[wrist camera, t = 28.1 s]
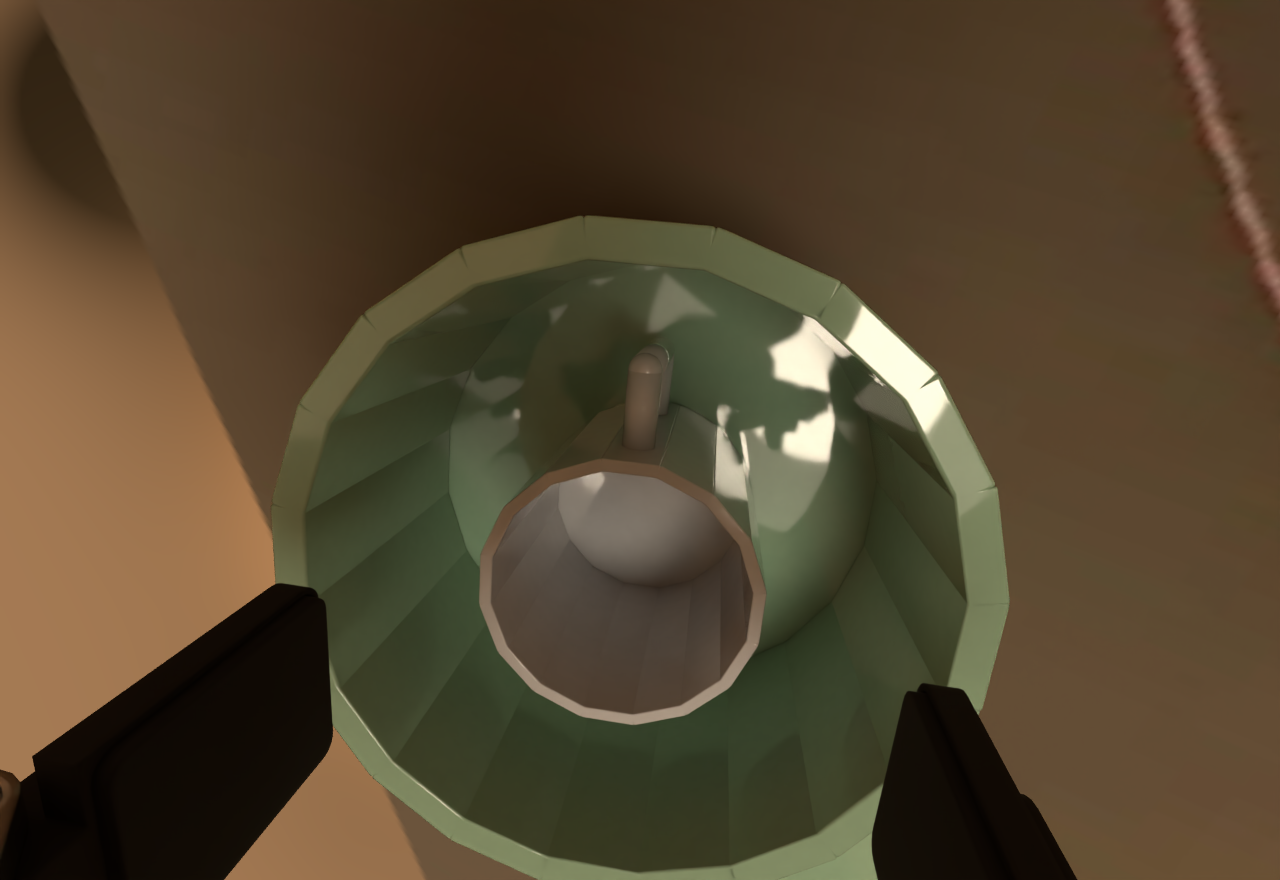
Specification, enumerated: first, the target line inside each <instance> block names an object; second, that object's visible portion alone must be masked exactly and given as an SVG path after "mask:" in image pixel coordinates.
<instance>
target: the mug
mask: <svg viewBox="0 0 1280 880" xmlns="http://www.w3.org/2000/svg"><path fill="white" fill-rule="evenodd" d="M674 353H675V349H674V345H673V343H672V342H671V341H670V340H669V339H668V338H666V337H656V338H654V339H652V340H651V341H650V342H649V343H648V344H647V345H646V346H645V347H644V348H643V349H642V350H641V351H640V352H639V353H638V354H637V355H636V356H634V357H633V358H632V360H631V361H630V363H629V366H628V375H627V387H626V398H625V403H623V404H619V405H616V406H614V407H611V408H608V409H606V410H604V411H601V412H599V413H597V414H596V415H595V416H594V417H592V418H591V419H589V420H588V421H587V422H585V423H584V424H583V425H582V426H581V427H580V428H579V429H578V430H576V431H575V432H574V433H573V434H571V435H570V436H569V437H568V438H567V439H566V440H565V441H564V443H563V444H562V445H561V446H560V447H559V448H558V449H557V450H556V451H555V452H554V453H553V454H552V455H551V457H550V458H549V459H548V460H547V461H546V462H545V463H544V464H543V465H542V466H541V467H540V468H539V469H538V470H537V472H536V473H535V474H534V475H533V476H532V477H531V478H530V479H529V480H528V481H527V482H526V483H525V484H524V486H523V487H522V488H521V489H520V490H519V491H518V492H517V493H516V494H515V495H514V496H513V497H512V498H511V500H510V501H509V502H508V503H507V504H506V505H505V506H504V507H503V509H502V511H501V513H500V515H499V517H498V519H497V521H496V523H495V525H494V527H493V529H492V531H491V533H490V535H489V537H488V539H487V541H486V543H485V545H484V547H483V549H482V551H481V554H480V587H479V604H480V608H481V610H482V613H483V616H484V618H485V621H486V623H487V626H488V628H489V631H490V633H491V636H492V639H493V641H494V644H495V646H496V649H497V651H498V652H499V654H500V655H501V656H502V657H503V658H504V659H505V661H506V662H507V663H508V664H509V665H510V666H511V667H512V668H513V669H514V670H515V672H516V673H517V674H518V675H519V676H520V677H521V678H522V679H523V680H524V681H525V683H526V684H527V685H528V686H529V687H530V688H531V689H532V690H533V691H534V692H536V693H538V694H540V695H541V696H543V697H545V698H547V699H549V700H551V701H553V702H554V703H556V704H558V705H560V706H562V707H564V708H566V709H568V710H569V711H571V712H573V713H575V714H577V715H579V716H582V717H586V718H592V719H599V720H605V721H611V722H617V723H624V724H630V725H637V724H643V723H648V722H653V721H659V720H664V719H669V718H675V717H680V716H685V715H687V714H689V713H690V712H692V711H694V710H695V709H697V708H698V707H700V706H702V705H703V704H705V703H706V702H708V701H710V700H711V699H713V698H714V697H716V696H717V695H719V694H721V693H722V692H724V691H725V690H727V689H729V687H731V685H732V684H733V682H734V681H735V679H736V678H737V676H738V675H739V673H740V672H741V671H742V669H743V668H744V666H745V665H746V663H747V662H748V660H749V659H750V657H751V656H752V654H753V653H754V651H755V650H756V648H757V647H758V644H759V641H760V635H761V628H762V622H763V615H764V609H765V602H766V596H767V593H766V592H767V591H766V584H765V577H764V569H763V562H762V555H761V547H760V540H759V533H758V525H757V518H756V511H755V504H754V496H753V492H752V488H751V485H750V481H749V477H748V472H747V470H746V467H745V464H744V460H743V458H742V456H741V455H740V454H739V452H738V450H737V448H736V447H735V445H734V444H733V443H732V441H731V440H730V438H729V437H728V436H727V435H726V434H725V433H724V432H723V431H722V430H721V429H720V428H719V427H718V426H717V425H715V424H714V423H713V422H712V421H711V420H709V419H707V418H706V417H704V416H703V415H701V414H700V413H698V412H696V411H693V410H691V409H689V408H687V407H684V406H681V405H678V404H674V403H670V402H669V401H670V392H671V382H672V372H673V363H674Z"/></svg>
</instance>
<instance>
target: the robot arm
mask: <svg viewBox="0 0 1280 880" xmlns="http://www.w3.org/2000/svg"><path fill="white" fill-rule="evenodd" d="M332 737H333V723H332V705H331V686H330V668H329V649H328V631H327V612H326V604H325V602H324V600H323V599H321V598H319V597H318V594H317V592H316V590H315V589H313V588H310V587H304V586H297V585H291V584H284V583H277V584H275V585H273V586H271V587H270V588H268V589H267V590H265V591H264V592H263V593H262V594H260V595H258V596H257V597H256V598H254V599H253V600H251V601H250V602H249V603H247V604H246V605H244V606H243V607H242V608H240V609H239V610H238V611H236V612H235V613H233V614H232V615H230V616H229V617H228V618H226V619H225V620H223V621H222V622H221V623H219V624H218V625H216V626H215V627H214V628H212V629H211V630H209V631H208V632H206V633H205V634H204V635H202V636H201V637H199V638H198V639H197V640H195V641H194V642H192V643H191V644H190V645H188V646H187V647H185V648H184V649H183V650H181V651H180V652H178V653H177V654H176V655H174V656H173V657H171V658H170V659H168V660H167V661H166V662H164V663H163V664H162V665H160V666H159V667H157V668H156V669H154V670H153V671H152V672H150V673H149V674H147V675H146V676H145V677H143V678H142V679H141V680H139V681H138V682H136V683H135V684H133V685H132V686H130V687H129V688H128V689H126V690H125V691H123V692H122V693H121V694H119V695H118V696H116V697H115V698H114V699H112V700H111V701H110V702H108V703H107V704H105V705H104V706H103V707H101V708H100V709H98V710H97V711H95V712H94V713H93V714H91V715H90V716H88V717H87V718H86V719H84V720H83V721H81V722H80V723H79V724H77V725H76V726H74V727H73V728H72V729H70V730H69V731H67V732H66V733H65V734H63V735H62V736H60V737H59V738H57V739H56V740H55V741H53V742H52V743H50V744H49V745H48V746H46V747H45V748H43V749H42V750H41V751H39V752H38V753H36V754H35V755H33V756H32V758H33V763H34V767H35V772H34V773H32V774H31V775H30V776H28V777H27V778H26V779H24V780H23V781H21V782H20V781H19V780H18V779H17V778H16V777H15V776H14V775H13V774H12V773H10V772H6V771H3V770H0V880H224V879H225V878H226V877H227V875H228V874H229V873H230V872H231V871H232V869H233V868H234V867H235V866H236V864H237V863H238V862H239V861H240V860H241V858H242V857H243V856H244V855H245V853H246V852H247V851H248V850H249V848H250V847H251V846H252V845H253V844H254V842H255V841H256V840H257V839H258V838H259V836H260V835H261V834H262V833H263V831H264V830H265V829H266V828H267V827H268V825H269V824H270V823H271V822H272V820H273V819H274V818H275V817H276V816H277V814H278V813H279V812H280V811H281V809H282V808H283V807H284V806H285V805H286V803H287V802H288V801H289V800H290V799H291V797H292V796H293V795H294V794H295V792H296V791H297V790H298V789H299V787H300V786H301V785H302V784H303V783H304V781H305V780H306V779H307V778H308V777H309V775H310V774H311V773H312V772H313V770H314V769H315V768H316V767H317V766H318V764H319V763H320V762H321V761H322V759H323V758H324V757H325V755H326V754H327V752H328V750H329V747H330V745H331V742H332ZM872 856H873V862H874V866H875V870H876V875H877V879H878V880H1077V878H1076V877H1075V875H1074V873H1073V871H1072V869H1071V867H1070V866H1069V864H1068V862H1067V860H1066V858H1065V857H1064V855H1063V853H1062V851H1061V849H1060V848H1059V846H1058V844H1057V842H1056V840H1055V839H1054V837H1053V835H1052V833H1051V831H1050V830H1049V828H1048V826H1047V824H1046V822H1045V820H1044V819H1043V817H1042V815H1041V813H1040V811H1039V810H1038V808H1037V807H1036V805H1035V804H1034V803H1033V801H1032V800H1031V799H1030V798H1028V797H1027V796H1025V795H1024V794H1020V793H1019V791H1018V789H1017V787H1016V785H1015V783H1014V781H1013V780H1012V778H1011V776H1010V774H1009V772H1008V770H1007V768H1006V767H1005V765H1004V763H1003V761H1002V759H1001V757H1000V755H999V753H998V752H997V750H996V748H995V746H994V744H993V742H992V740H991V738H990V737H989V735H988V733H987V731H986V729H985V727H984V725H983V724H982V722H981V720H980V718H979V716H978V714H977V712H976V710H975V709H974V707H973V705H972V703H971V701H970V699H969V697H968V696H967V694H966V693H965V691H964V690H962V689H960V688H953V687H947V686H940V685H934V684H928V683H922V684H920V686H919V687H918V689H917V692H914V691H907V692H906V694H905V696H904V699H903V703H902V707H901V711H900V716H899V720H898V724H897V728H896V732H895V737H894V741H893V745H892V749H891V754H890V758H889V762H888V766H887V771H886V775H885V779H884V783H883V788H882V792H881V796H880V800H879V805H878V809H877V813H876V817H875V822H874V826H873V831H872Z"/></svg>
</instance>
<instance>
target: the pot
mask: <svg viewBox="0 0 1280 880" xmlns="http://www.w3.org/2000/svg"><path fill="white" fill-rule="evenodd" d="M656 337H666V338H668V339H669V340H670V341H671V342H672V343H673V345H674V349H675V353H674V363H673V372H672V382H671V392H670V401H669V402H670V403H674V404H678V405H681V406H684V407H687V408H689V409H691V410H693V411H696V412H698V413H700V414H701V415H703V416H704V417H706V418H707V419H709V420H711V421H712V422H713V423H714V424H715V425H717V426H718V427H719V428H720V429H721V430H722V431H723V432H724V433H725V434H726V435H727V436H728V437H729V438H730V440H731V441H732V443H733V444H734V445H735V447H736V448H737V450H738V452H739V454H740V455H741V456H742V458H743V460H744V464H745V467H746V470H747V472H748V477H749V481H750V485H751V488H752V492H753V496H754V504H755V511H756V518H757V525H758V533H759V540H760V547H761V555H762V562H763V569H764V577H765V584H766V591H767V592H766V593H767V596H766V602H765V609H764V615H763V622H762V628H761V635H760V641H759V644H758V647H757V648H756V650H755V651H754V653H753V654H752V656H751V657H750V659H749V660H748V662H747V663H746V665H745V666H744V668H743V669H742V671H741V672H740V673H739V675H738V676H737V678H736V679H735V681H734V682H733V684H732V685H731V687H729V689H727V690H725V691H724V692H722V693H721V694H719V695H717V696H716V697H714V698H713V699H711V700H710V701H708V702H706V703H705V704H703V705H702V706H700V707H698V708H697V709H695V710H694V711H692V712H690V713H689V714H687V715H685V716H680V717H675V718H669V719H664V720H659V721H653V722H648V723H643V724H637V725H630V724H624V723H617V722H611V721H605V720H599V719H592V718H586V717H582V716H579V715H577V714H575V713H573V712H571V711H569V710H568V709H566V708H564V707H562V706H560V705H558V704H556V703H554V702H553V701H551V700H549V699H547V698H545V697H543V696H541V695H540V694H538V693H536V692H534V691H533V690H532V689H531V688H530V687H529V686H528V685H527V684H526V683H525V681H524V680H523V679H522V678H521V677H520V676H519V675H518V674H517V673H516V672H515V670H514V669H513V668H512V667H511V666H510V665H509V664H508V663H507V662H506V661H505V659H504V658H503V657H502V656H501V655H500V654H499V652H498V651H497V649H496V646H495V644H494V641H493V639H492V636H491V633H490V631H489V628H488V626H487V623H486V621H485V618H484V616H483V613H482V610H481V608H480V604H479V587H480V554H481V551H482V549H483V547H484V545H485V543H486V541H487V539H488V537H489V535H490V533H491V531H492V529H493V527H494V525H495V523H496V521H497V519H498V517H499V515H500V513H501V511H502V509H503V507H504V506H505V505H506V504H507V503H508V502H509V501H510V500H511V498H512V497H513V496H514V495H515V494H516V493H517V492H518V491H519V490H520V489H521V488H522V487H523V486H524V484H525V483H526V482H527V481H528V480H529V479H530V478H531V477H532V476H533V475H534V474H535V473H536V472H537V470H538V469H539V468H540V467H541V466H542V465H543V464H544V463H545V462H546V461H547V460H548V459H549V458H550V457H551V455H552V454H553V453H554V452H555V451H556V450H557V449H558V448H559V447H560V446H561V445H562V444H563V443H564V441H565V440H566V439H567V438H568V437H569V436H570V435H571V434H573V433H574V432H575V431H576V430H578V429H579V428H580V427H581V426H582V425H583V424H584V423H585V422H587V421H588V420H589V419H591V418H592V417H594V416H595V415H596V414H597V413H599V412H601V411H604V410H606V409H608V408H611V407H614V406H616V405H619V404H623V403H625V398H626V387H627V375H628V366H629V363H630V361H631V360H632V358H633V357H634V356H636V355H637V354H638V353H639V352H640V351H641V350H642V349H643V348H644V347H645V346H646V345H647V344H648V343H649V342H650V341H651V340H652V339H654V338H656ZM272 503H273V504H272V505H271V518H272V535H273V551H274V566H275V582H276V584H277V583H284V584H291V585H297V586H304V587H310V588H313V589H315V590H316V592H317V594H318V597H319V598H321V599H323V600H324V602H325V604H326V612H327V631H328V649H329V668H330V686H331V705H332V723H333V726H334V728H335V729H336V730H337V732H338V733H339V734H340V736H341V737H342V738H343V740H344V741H345V742H346V744H347V745H348V746H349V748H350V749H351V750H352V752H353V753H354V754H355V756H356V757H357V758H358V760H359V761H360V762H361V764H362V765H363V766H364V767H365V769H366V770H367V772H368V773H369V774H370V775H371V776H373V779H375V780H376V781H377V782H378V783H380V784H381V785H382V786H383V787H385V788H386V789H387V790H388V791H390V792H391V793H392V794H393V795H395V796H396V797H397V798H398V799H400V800H401V801H402V802H403V803H405V804H406V805H407V806H408V807H410V808H411V809H412V810H413V811H415V812H416V813H417V814H418V815H420V816H421V817H422V818H423V819H425V820H426V821H427V822H428V823H430V824H431V825H432V826H433V827H435V828H436V829H437V830H439V831H440V832H441V833H442V834H444V835H445V836H446V837H447V838H450V840H452V841H454V842H456V843H458V844H461V845H463V846H465V847H467V848H469V849H472V850H474V851H476V852H478V853H480V854H482V855H485V856H487V857H489V858H491V859H493V860H496V861H498V862H500V863H502V864H504V865H507V866H509V867H511V868H513V869H515V870H518V871H520V872H522V873H524V874H526V875H529V876H531V877H533V878H535V879H537V880H778V879H781V878H784V877H787V876H790V875H793V874H796V873H798V872H801V871H804V870H807V869H810V868H813V867H816V866H818V865H821V864H824V863H827V862H830V861H833V860H835V859H836V858H837V857H839V856H841V855H842V854H844V853H845V852H846V851H848V850H849V849H850V848H852V847H853V846H854V845H856V844H857V843H859V842H860V841H861V840H863V839H864V838H865V837H867V836H868V835H869V834H871V833H872V831H873V826H874V822H875V817H876V813H877V809H878V805H879V800H880V796H881V792H882V788H883V783H884V779H885V775H886V771H887V766H888V762H889V758H890V754H891V749H892V745H893V741H894V737H895V732H896V728H897V724H898V720H899V716H900V711H901V707H902V703H903V699H904V696H905V694H906V692H907V691H914V692H917V689H918V687H919V686H920V684H922V683H928V684H934V685H940V686H947V687H953V688H960V689H962V690H964V691H965V693H966V694H967V696H968V697H969V699H970V701H971V703H972V705H973V707H974V709H975V710H976V712H977V714H979V712H980V710H982V708H983V704H984V700H985V696H986V693H987V689H988V685H989V681H990V678H991V674H992V670H993V666H994V662H995V659H996V655H997V651H998V647H999V643H1000V640H1001V636H1002V632H1003V628H1004V624H1005V621H1006V617H1007V613H1008V609H1009V602H1010V598H1009V589H1008V580H1007V571H1006V561H1005V552H1004V543H1003V534H1002V525H1001V515H1000V506H999V497H998V488H997V487H996V486H995V481H994V479H993V477H992V475H991V473H990V471H989V469H988V467H987V465H986V463H985V461H984V459H983V458H982V456H981V454H980V452H979V450H978V448H977V446H976V444H975V442H974V440H973V438H972V436H971V434H970V432H969V430H968V428H967V426H966V424H965V422H964V420H963V418H962V416H961V414H960V412H959V410H958V408H957V406H956V404H955V402H954V400H953V398H952V396H951V394H950V393H949V391H948V389H947V387H946V385H945V383H944V381H943V379H942V377H941V376H940V375H938V372H937V370H936V369H935V368H934V367H933V366H932V365H931V364H930V363H929V362H928V361H927V360H926V359H924V358H923V357H922V356H921V355H920V354H919V353H918V352H917V351H916V350H915V349H914V348H913V347H912V346H911V345H910V344H908V343H907V342H906V341H905V340H904V339H903V338H902V337H901V336H900V335H899V334H898V333H897V332H896V331H895V330H894V329H892V328H891V327H890V326H889V325H888V324H887V323H886V322H885V321H884V320H883V319H882V318H881V317H880V316H879V315H878V314H876V313H875V312H874V311H873V310H872V309H871V308H870V307H869V306H868V305H867V304H866V303H865V302H864V301H863V300H862V299H860V298H859V297H858V296H857V295H856V294H855V293H854V292H853V291H852V290H851V289H850V288H849V287H848V286H847V285H846V284H843V283H841V282H840V281H839V280H838V279H836V278H833V277H831V276H829V275H827V274H824V273H822V272H820V271H818V270H815V269H813V268H811V267H809V266H806V265H804V264H802V263H800V262H797V261H795V260H793V259H791V258H788V257H786V256H784V255H782V254H779V253H777V252H775V251H773V250H770V249H768V248H766V247H764V246H761V245H759V244H757V243H755V242H752V241H750V240H748V239H745V238H743V237H741V236H739V235H736V234H734V233H732V232H730V231H727V230H725V229H723V228H721V227H718V228H717V229H716V227H714V226H711V225H699V224H688V223H676V222H665V221H653V220H641V219H630V218H618V217H607V216H595V215H587V216H585V217H584V216H575V217H571V218H567V219H564V220H560V221H556V222H552V223H548V224H544V225H540V226H536V227H532V228H528V229H525V230H521V231H517V232H513V233H509V234H505V235H501V236H497V237H493V238H490V239H486V240H482V241H478V242H474V243H470V244H466V245H463V246H462V247H461V248H458V249H455V250H454V251H452V252H451V253H450V254H448V255H447V256H445V257H444V258H442V259H441V260H439V261H438V262H436V263H435V264H433V265H432V266H430V267H429V268H428V269H426V270H425V271H423V272H422V273H420V274H419V275H417V276H416V277H414V278H413V279H411V280H410V281H409V282H407V283H406V284H404V285H403V286H401V287H400V288H398V289H397V290H395V291H394V292H392V293H391V294H389V295H388V296H387V297H385V298H384V299H382V300H381V301H379V302H378V303H376V304H375V305H373V306H372V307H370V308H369V309H367V310H366V312H365V313H364V314H362V315H361V316H360V317H359V318H358V320H357V321H356V323H355V324H354V325H353V327H352V328H351V330H350V331H349V332H348V334H347V335H346V337H345V338H344V339H343V341H342V342H341V344H340V345H339V346H338V348H337V349H336V351H335V352H334V354H333V355H332V356H331V358H330V359H329V361H328V362H327V363H326V365H325V366H324V368H323V369H322V370H321V372H320V373H319V375H318V376H317V377H316V379H315V380H314V382H313V383H312V385H311V386H310V387H309V389H308V390H307V392H306V393H305V394H304V396H303V397H302V399H301V400H300V404H299V405H298V406H297V410H296V413H295V417H294V421H293V424H292V428H291V432H290V435H289V439H288V442H287V446H286V450H285V453H284V457H283V461H282V464H281V468H280V472H279V475H278V479H277V483H276V486H275V490H274V493H273V497H272Z"/></svg>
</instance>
